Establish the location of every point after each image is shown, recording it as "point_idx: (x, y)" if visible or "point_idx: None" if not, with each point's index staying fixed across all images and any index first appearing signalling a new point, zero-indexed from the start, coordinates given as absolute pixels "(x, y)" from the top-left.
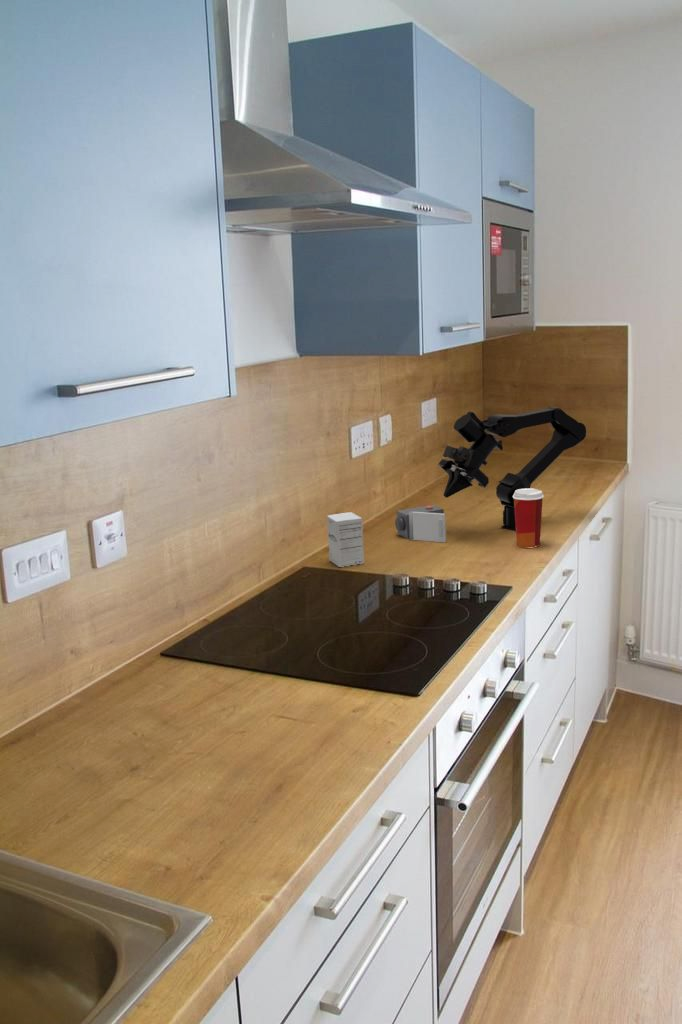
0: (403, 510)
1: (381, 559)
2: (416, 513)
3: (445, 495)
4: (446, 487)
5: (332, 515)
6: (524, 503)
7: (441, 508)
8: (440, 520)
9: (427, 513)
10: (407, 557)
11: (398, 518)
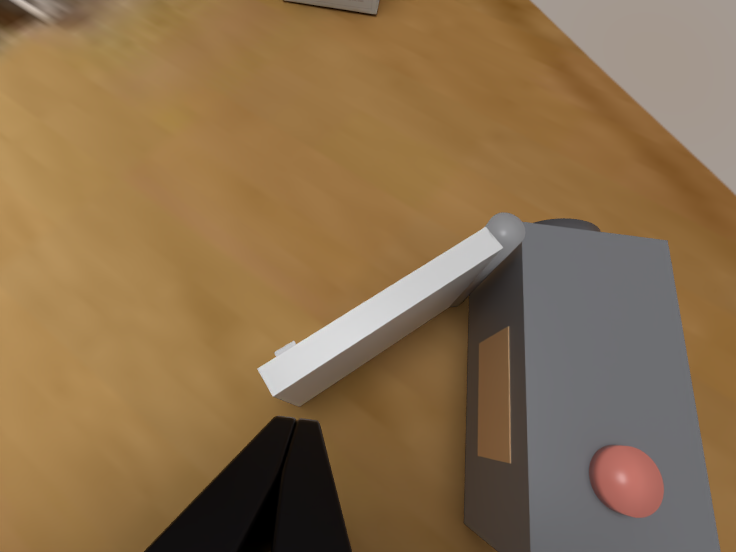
0: (654, 278)
1: (281, 57)
2: (458, 244)
3: (273, 427)
4: (318, 521)
5: None
6: None
7: None
8: (282, 349)
9: (385, 289)
10: (227, 130)
11: (567, 220)
